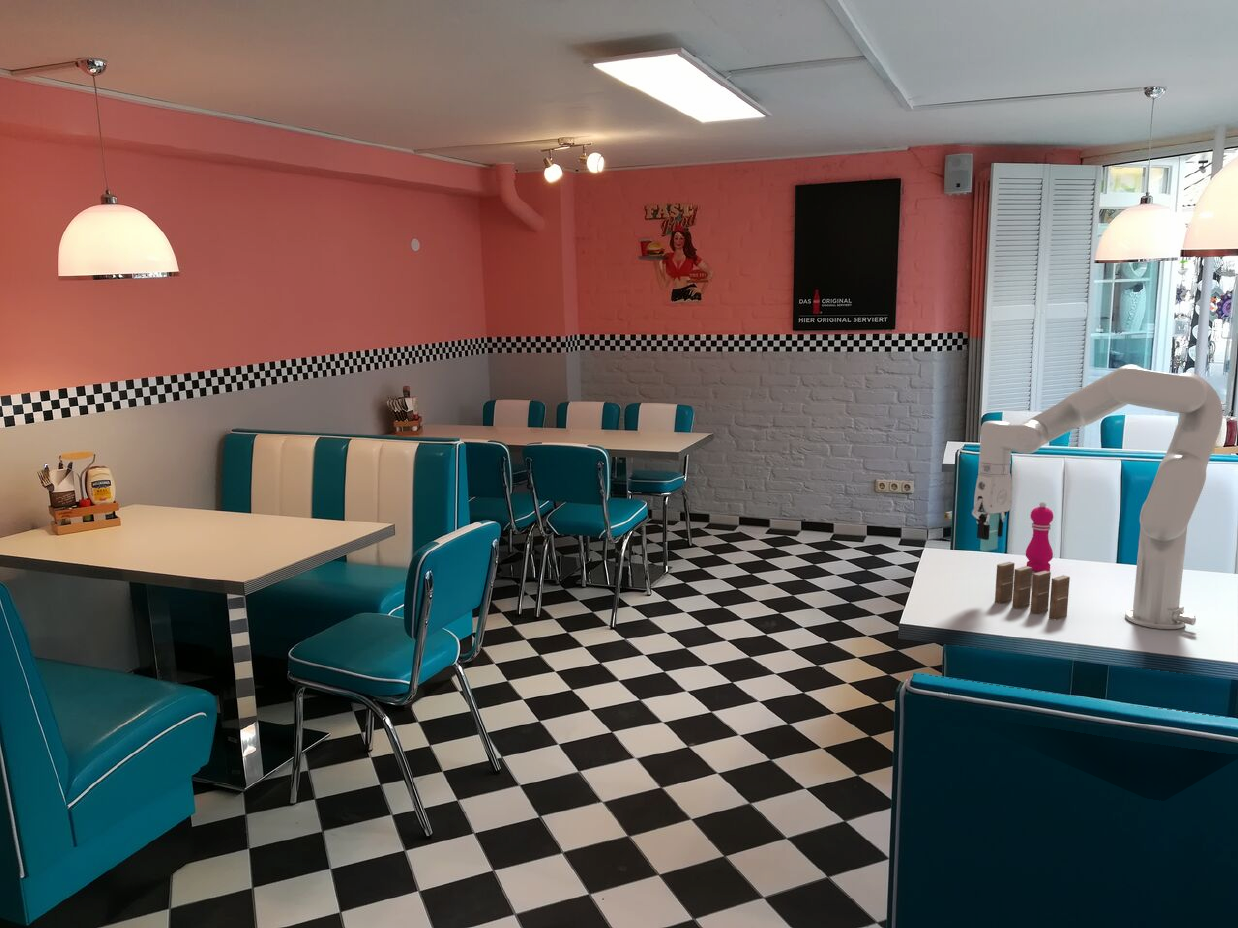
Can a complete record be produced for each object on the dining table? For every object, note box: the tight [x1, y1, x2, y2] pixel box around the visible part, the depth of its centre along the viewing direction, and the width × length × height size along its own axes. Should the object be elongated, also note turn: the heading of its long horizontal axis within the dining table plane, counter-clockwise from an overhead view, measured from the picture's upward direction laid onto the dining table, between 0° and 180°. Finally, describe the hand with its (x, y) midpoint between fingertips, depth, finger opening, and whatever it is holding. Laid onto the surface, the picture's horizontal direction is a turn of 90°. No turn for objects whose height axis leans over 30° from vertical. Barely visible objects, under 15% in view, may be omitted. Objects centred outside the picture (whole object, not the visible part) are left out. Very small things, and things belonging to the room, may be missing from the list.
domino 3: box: [1011, 565, 1033, 610], centre depth 232 cm, size 2×5×10 cm, turn 123°
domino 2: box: [994, 561, 1015, 604], centre depth 236 cm, size 2×5×10 cm, turn 123°
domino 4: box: [1029, 571, 1052, 615], centre depth 228 cm, size 2×5×10 cm, turn 123°
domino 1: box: [979, 512, 1000, 552], centre depth 238 cm, size 2×5×10 cm, turn 123°
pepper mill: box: [1025, 501, 1054, 573], centre depth 264 cm, size 7×7×20 cm
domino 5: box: [1048, 574, 1071, 620], centre depth 224 cm, size 2×5×10 cm, turn 123°
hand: (989, 536), depth 239 cm, fingers closed on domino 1, 4 cm apart
